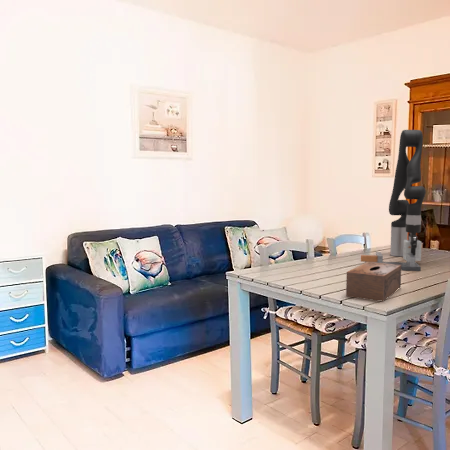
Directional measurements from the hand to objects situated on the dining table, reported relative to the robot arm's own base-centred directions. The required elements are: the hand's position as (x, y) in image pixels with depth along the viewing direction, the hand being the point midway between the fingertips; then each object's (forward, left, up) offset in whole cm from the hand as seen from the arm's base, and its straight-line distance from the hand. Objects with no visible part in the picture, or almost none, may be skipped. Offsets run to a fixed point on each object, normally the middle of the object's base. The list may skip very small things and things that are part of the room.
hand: (412, 254), depth 246 cm
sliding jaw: (+14, -22, -3) cm, 26 cm away
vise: (+14, -12, -5) cm, 19 cm away
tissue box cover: (+68, -24, -6) cm, 72 cm away
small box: (0, 0, -3) cm, 3 cm away
